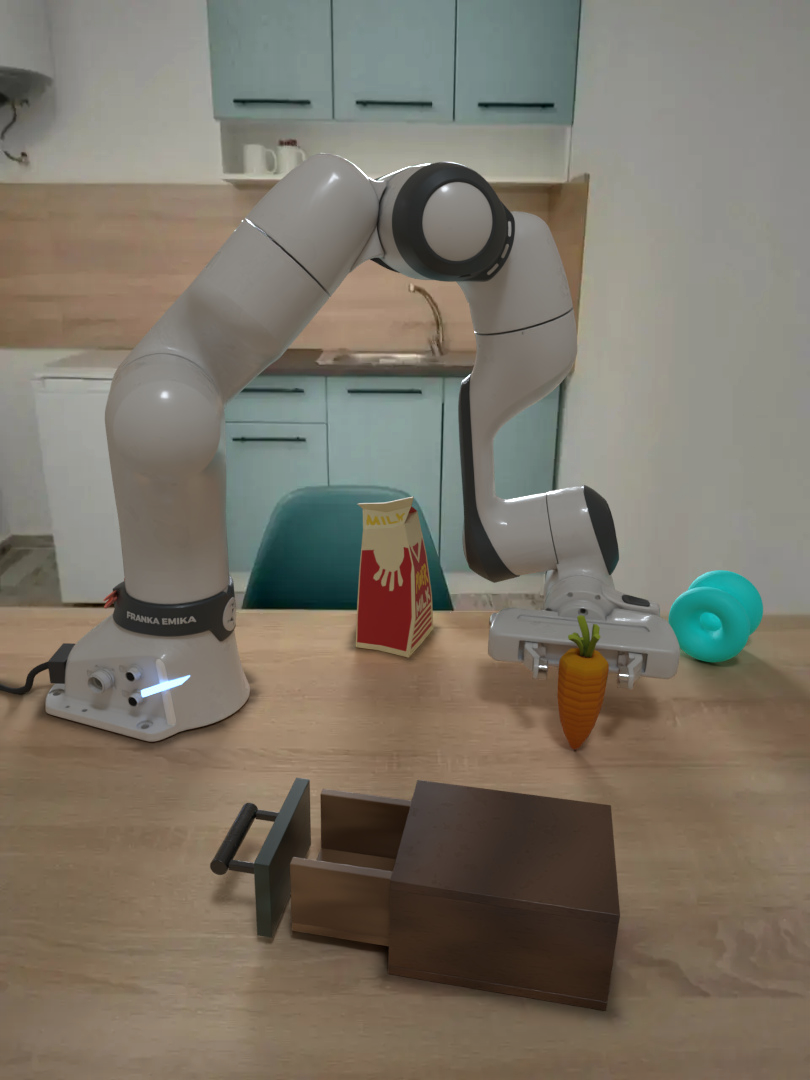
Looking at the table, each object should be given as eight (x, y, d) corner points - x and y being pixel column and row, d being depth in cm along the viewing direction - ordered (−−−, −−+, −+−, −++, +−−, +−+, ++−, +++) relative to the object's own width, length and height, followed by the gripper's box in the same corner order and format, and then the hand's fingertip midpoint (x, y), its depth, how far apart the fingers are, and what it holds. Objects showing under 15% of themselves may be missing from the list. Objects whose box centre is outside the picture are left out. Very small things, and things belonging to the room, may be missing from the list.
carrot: (598, 765, 85) (615, 634, 80) (549, 759, 86) (562, 629, 81) (598, 738, 90) (613, 613, 84) (551, 732, 90) (564, 608, 85)
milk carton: (433, 628, 114) (438, 488, 107) (411, 658, 105) (416, 509, 98) (371, 617, 116) (372, 480, 109) (345, 646, 108) (345, 500, 101)
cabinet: (388, 974, 61) (390, 880, 58) (414, 863, 71) (417, 779, 68) (606, 1011, 58) (620, 915, 55) (599, 890, 69) (611, 804, 66)
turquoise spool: (660, 652, 109) (670, 582, 105) (684, 625, 116) (694, 559, 113) (739, 675, 103) (752, 603, 100) (758, 646, 111) (771, 577, 108)
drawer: (204, 927, 63) (198, 855, 61) (251, 835, 73) (248, 770, 70) (447, 967, 60) (452, 893, 58) (463, 867, 70) (467, 800, 67)
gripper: (492, 586, 97) (481, 639, 84) (673, 603, 94) (690, 661, 81) (489, 635, 99) (478, 693, 87) (665, 653, 96) (681, 716, 83)
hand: (582, 678), depth 84 cm, fingers open, 7 cm apart
